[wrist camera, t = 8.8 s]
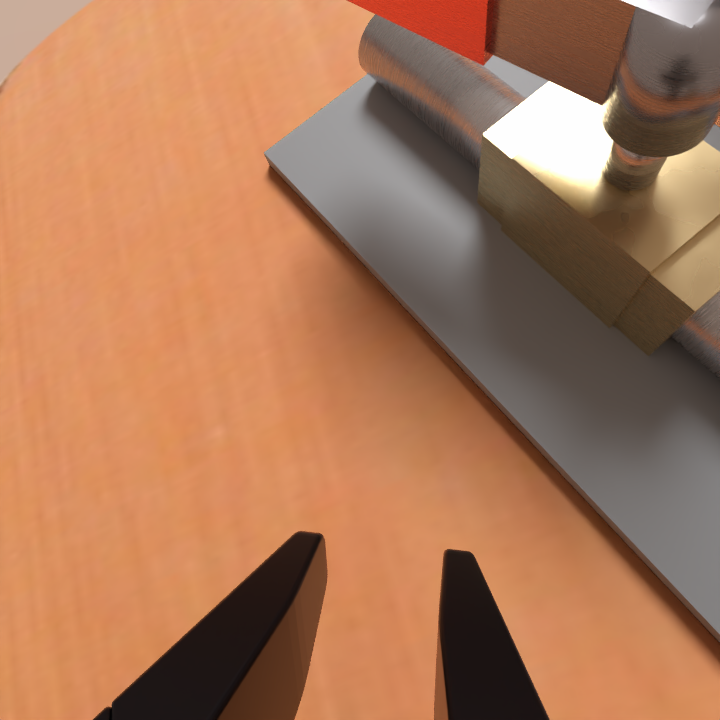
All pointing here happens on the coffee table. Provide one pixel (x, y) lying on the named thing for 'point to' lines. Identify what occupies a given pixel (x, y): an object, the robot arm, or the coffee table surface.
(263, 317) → the coffee table surface
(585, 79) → the valve lever
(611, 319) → the valve body
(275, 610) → the robot arm
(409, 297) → the mounting board
